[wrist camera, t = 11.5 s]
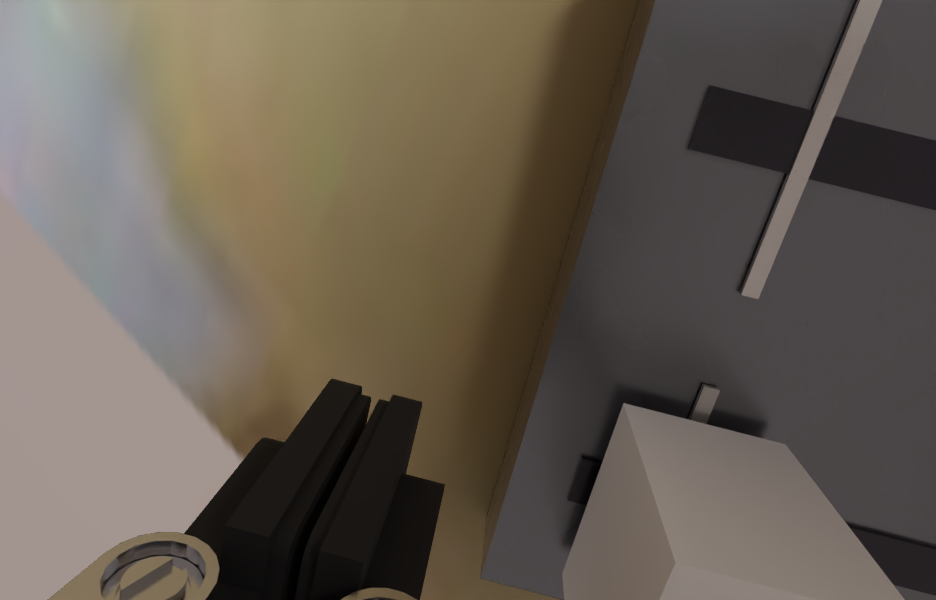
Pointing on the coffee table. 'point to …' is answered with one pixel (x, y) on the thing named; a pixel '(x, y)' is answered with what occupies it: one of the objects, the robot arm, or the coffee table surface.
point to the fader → (711, 522)
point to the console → (748, 272)
